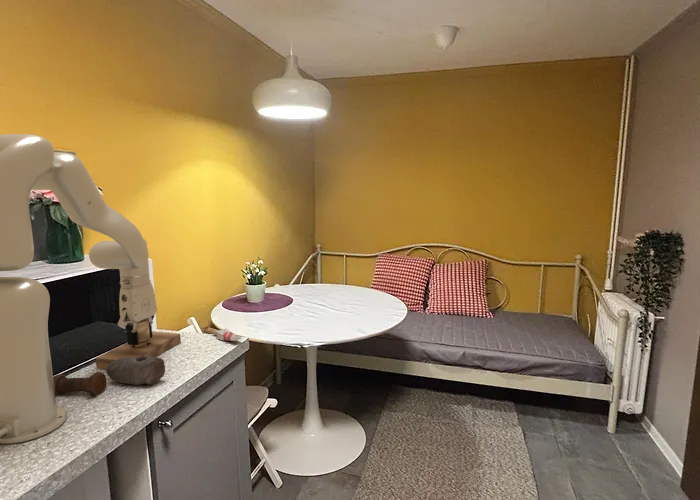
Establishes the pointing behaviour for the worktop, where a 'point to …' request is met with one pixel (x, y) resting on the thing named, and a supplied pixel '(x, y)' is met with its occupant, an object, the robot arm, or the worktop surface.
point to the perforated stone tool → (136, 370)
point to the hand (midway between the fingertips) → (140, 340)
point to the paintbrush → (222, 334)
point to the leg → (142, 333)
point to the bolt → (80, 384)
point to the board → (140, 349)
